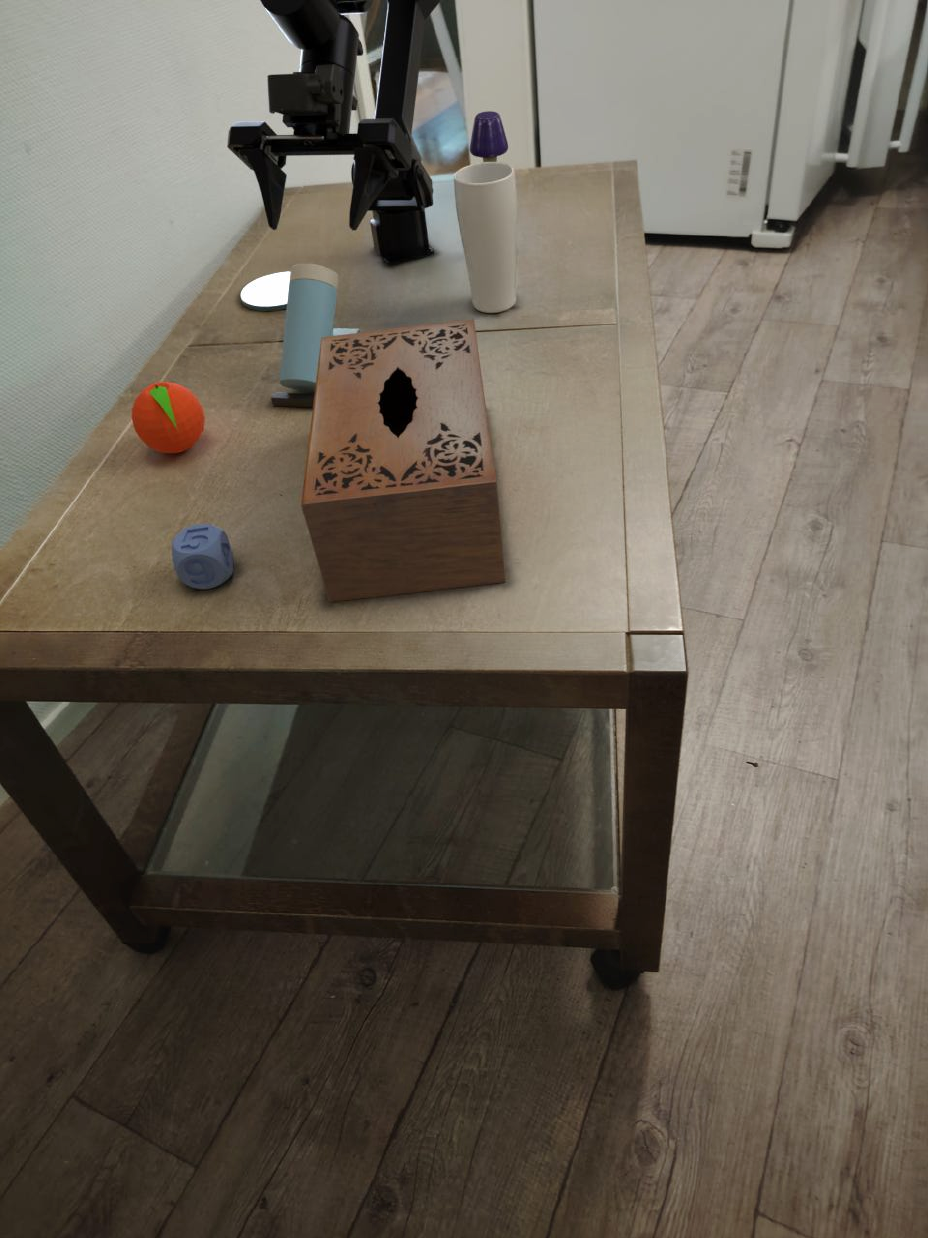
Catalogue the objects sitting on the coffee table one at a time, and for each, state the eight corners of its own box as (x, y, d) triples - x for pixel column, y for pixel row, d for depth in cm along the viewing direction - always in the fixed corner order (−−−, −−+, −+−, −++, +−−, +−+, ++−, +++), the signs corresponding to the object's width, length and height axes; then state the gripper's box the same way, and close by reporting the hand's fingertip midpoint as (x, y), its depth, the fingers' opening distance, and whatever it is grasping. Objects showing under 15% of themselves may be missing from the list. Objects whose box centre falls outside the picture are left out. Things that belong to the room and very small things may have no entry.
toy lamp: (519, 248, 117) (512, 108, 106) (506, 263, 115) (496, 121, 103) (486, 245, 119) (475, 107, 107) (472, 260, 116) (459, 119, 105)
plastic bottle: (318, 353, 103) (295, 249, 95) (359, 354, 102) (339, 249, 93) (279, 408, 95) (249, 299, 86) (323, 410, 94) (297, 300, 85)
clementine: (225, 455, 89) (203, 392, 84) (158, 480, 88) (132, 418, 83) (202, 420, 95) (180, 359, 90) (138, 443, 93) (112, 382, 88)
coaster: (306, 269, 120) (305, 264, 119) (327, 297, 113) (326, 292, 112) (234, 288, 118) (232, 283, 117) (250, 318, 111) (249, 313, 110)
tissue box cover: (505, 582, 72) (496, 481, 65) (329, 602, 73) (301, 504, 66) (483, 411, 90) (473, 318, 83) (342, 428, 91) (321, 337, 84)
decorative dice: (234, 555, 78) (221, 519, 75) (231, 586, 75) (217, 550, 72) (189, 562, 78) (174, 527, 75) (184, 593, 75) (169, 557, 72)
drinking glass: (458, 315, 106) (443, 182, 95) (478, 289, 110) (466, 160, 100) (511, 320, 104) (502, 185, 93) (530, 293, 108) (524, 161, 97)
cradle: (308, 355, 103) (301, 326, 100) (365, 357, 101) (359, 328, 98) (272, 405, 95) (264, 376, 93) (333, 408, 94) (326, 379, 91)
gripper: (206, 33, 88) (191, 195, 89) (384, 24, 83) (366, 194, 84) (260, 95, 99) (246, 239, 99) (420, 90, 94) (404, 240, 95)
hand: (312, 228), depth 94 cm, fingers open, 9 cm apart
